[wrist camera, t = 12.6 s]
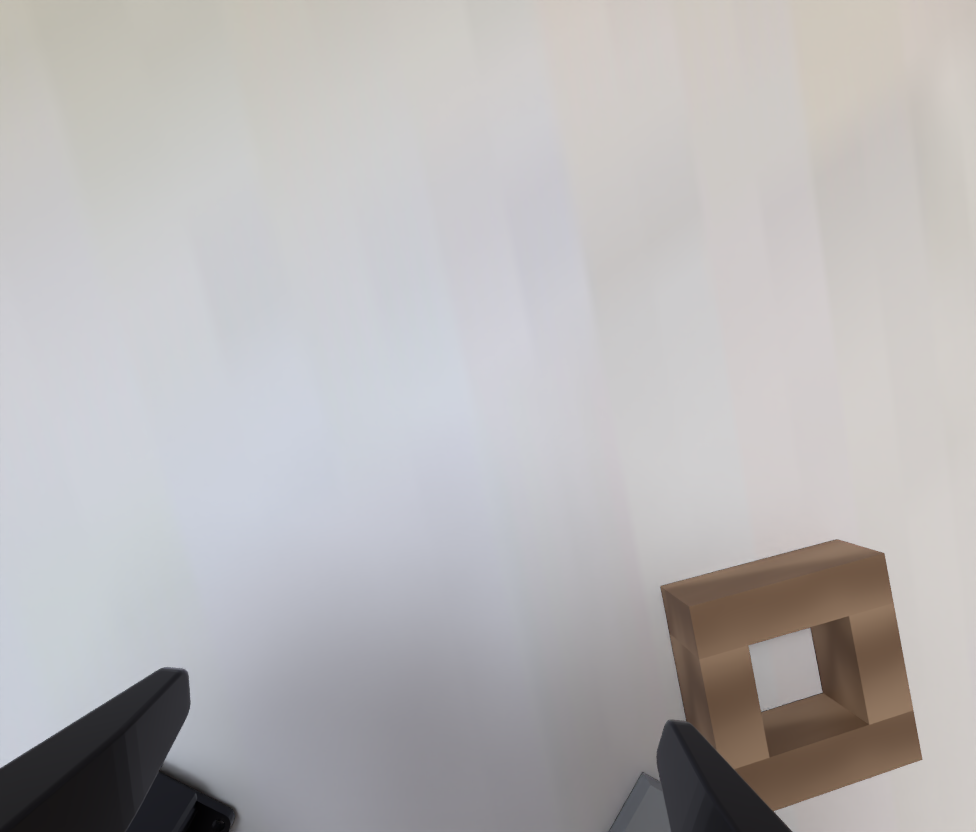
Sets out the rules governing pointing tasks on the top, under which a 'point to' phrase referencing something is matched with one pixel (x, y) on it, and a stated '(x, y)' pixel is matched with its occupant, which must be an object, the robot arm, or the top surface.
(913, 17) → the top surface
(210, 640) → the top surface
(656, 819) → the slate mat
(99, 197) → the top surface
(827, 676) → the walnut socket block
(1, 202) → the top surface
